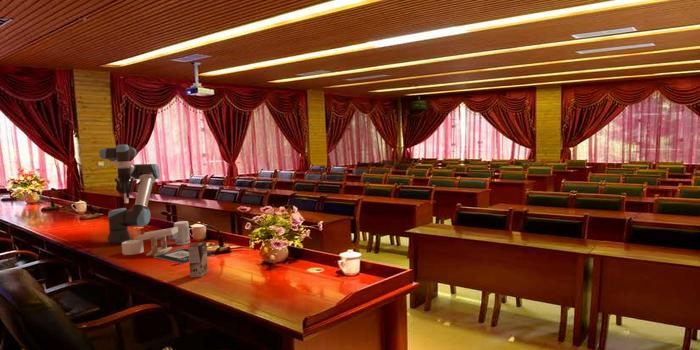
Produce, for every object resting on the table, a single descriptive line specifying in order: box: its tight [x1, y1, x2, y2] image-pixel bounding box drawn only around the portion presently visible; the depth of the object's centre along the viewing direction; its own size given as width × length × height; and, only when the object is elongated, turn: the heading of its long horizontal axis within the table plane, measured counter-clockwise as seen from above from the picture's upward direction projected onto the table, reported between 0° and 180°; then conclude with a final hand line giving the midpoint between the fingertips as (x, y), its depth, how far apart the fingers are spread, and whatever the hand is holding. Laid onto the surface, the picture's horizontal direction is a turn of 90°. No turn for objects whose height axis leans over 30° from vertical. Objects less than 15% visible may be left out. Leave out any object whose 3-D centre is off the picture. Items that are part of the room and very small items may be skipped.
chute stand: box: [145, 236, 173, 257], centre depth 292 cm, size 9×17×10 cm, turn 178°
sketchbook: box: [153, 247, 215, 265], centre depth 278 cm, size 22×30×2 cm
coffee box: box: [188, 241, 209, 278], centre depth 238 cm, size 9×6×16 cm
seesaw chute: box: [136, 226, 178, 241], centre depth 295 cm, size 22×18×7 cm
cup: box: [121, 239, 145, 256], centre depth 292 cm, size 11×11×7 cm
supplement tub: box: [173, 220, 191, 246], centre depth 313 cm, size 10×10×15 cm
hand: (126, 202), depth 310 cm, fingers closed
